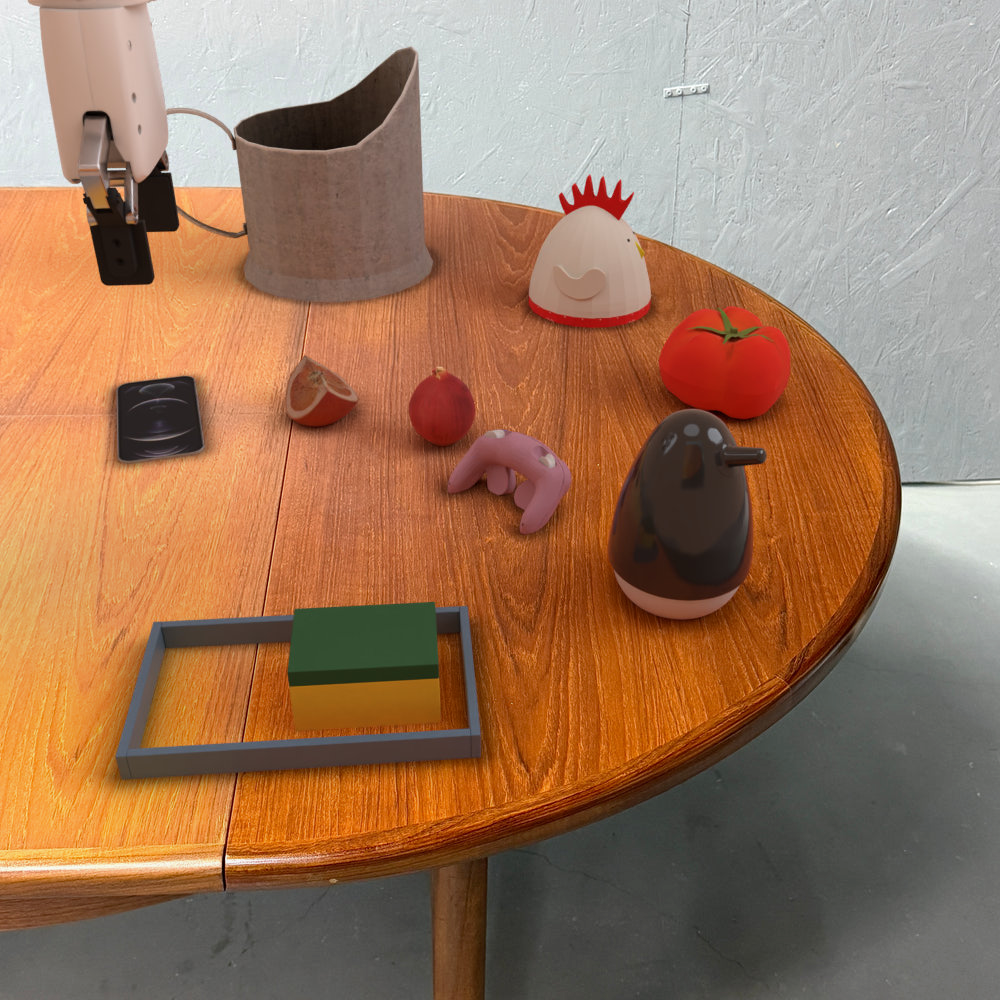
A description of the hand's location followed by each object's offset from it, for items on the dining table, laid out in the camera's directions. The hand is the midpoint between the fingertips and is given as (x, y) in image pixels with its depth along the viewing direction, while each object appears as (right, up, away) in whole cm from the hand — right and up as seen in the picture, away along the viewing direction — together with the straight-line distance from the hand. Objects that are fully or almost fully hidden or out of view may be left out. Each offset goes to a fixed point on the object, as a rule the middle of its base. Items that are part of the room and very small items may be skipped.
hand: (143, 255), depth 72 cm
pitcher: (0, +11, +60) cm, 61 cm away
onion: (+19, -12, +25) cm, 33 cm away
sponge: (+15, -29, -2) cm, 33 cm away
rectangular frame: (+12, -29, -2) cm, 32 cm away
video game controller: (+25, -17, +17) cm, 34 cm away
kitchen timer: (+34, +6, +52) cm, 62 cm away
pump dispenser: (+37, -23, +7) cm, 44 cm away
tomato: (+45, -7, +32) cm, 56 cm away
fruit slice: (+7, -9, +29) cm, 32 cm away
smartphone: (-8, -9, +28) cm, 31 cm away
